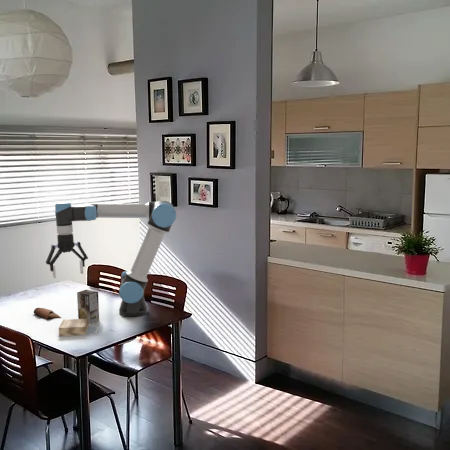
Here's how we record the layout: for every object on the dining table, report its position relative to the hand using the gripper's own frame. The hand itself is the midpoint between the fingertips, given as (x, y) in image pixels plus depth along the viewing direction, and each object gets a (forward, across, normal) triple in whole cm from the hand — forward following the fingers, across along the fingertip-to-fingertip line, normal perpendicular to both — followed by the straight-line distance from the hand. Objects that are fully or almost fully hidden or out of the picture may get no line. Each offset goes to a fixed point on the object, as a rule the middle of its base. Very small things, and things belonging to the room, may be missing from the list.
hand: (68, 275), depth 252 cm
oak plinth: (+24, +3, +15) cm, 28 cm away
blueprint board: (+25, 0, +16) cm, 30 cm away
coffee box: (+25, -8, +3) cm, 27 cm away
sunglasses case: (+25, +8, -18) cm, 32 cm away
